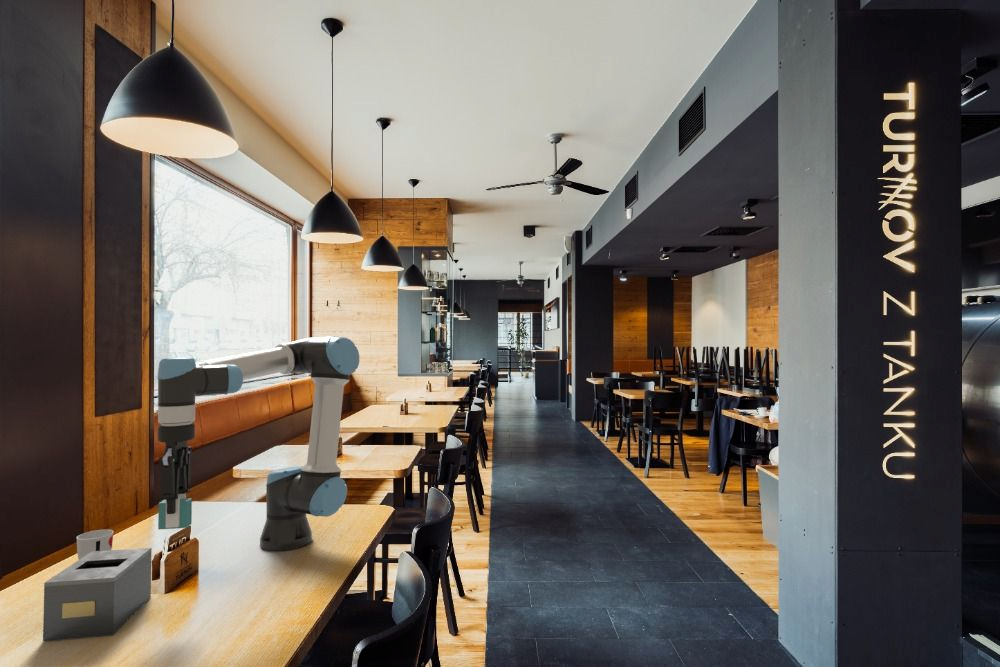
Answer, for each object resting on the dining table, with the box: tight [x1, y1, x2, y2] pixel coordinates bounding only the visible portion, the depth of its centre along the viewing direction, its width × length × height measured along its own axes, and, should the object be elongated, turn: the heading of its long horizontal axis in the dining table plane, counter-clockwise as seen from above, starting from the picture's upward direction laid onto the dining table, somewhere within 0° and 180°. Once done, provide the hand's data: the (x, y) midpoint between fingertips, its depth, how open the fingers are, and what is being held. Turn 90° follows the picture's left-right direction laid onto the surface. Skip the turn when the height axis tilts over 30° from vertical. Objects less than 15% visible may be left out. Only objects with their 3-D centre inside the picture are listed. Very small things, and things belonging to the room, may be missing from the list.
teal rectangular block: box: [157, 497, 193, 531], centre depth 127 cm, size 6×3×6 cm, turn 101°
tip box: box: [42, 547, 152, 642], centre depth 123 cm, size 13×18×12 cm
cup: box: [76, 529, 114, 560], centre depth 149 cm, size 8×8×10 cm
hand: (175, 524), depth 127 cm, fingers closed on teal rectangular block, 3 cm apart
